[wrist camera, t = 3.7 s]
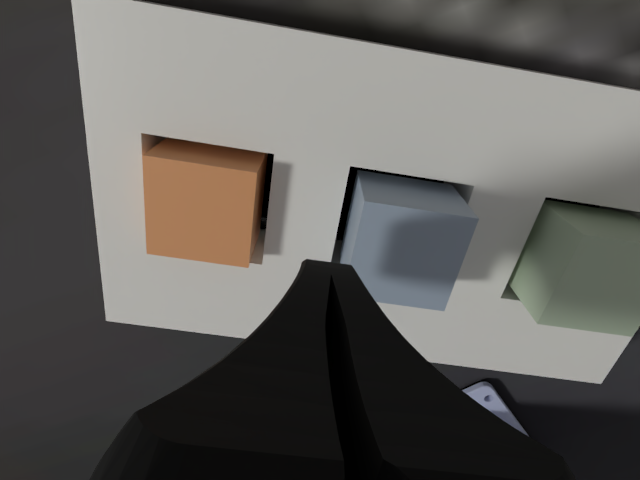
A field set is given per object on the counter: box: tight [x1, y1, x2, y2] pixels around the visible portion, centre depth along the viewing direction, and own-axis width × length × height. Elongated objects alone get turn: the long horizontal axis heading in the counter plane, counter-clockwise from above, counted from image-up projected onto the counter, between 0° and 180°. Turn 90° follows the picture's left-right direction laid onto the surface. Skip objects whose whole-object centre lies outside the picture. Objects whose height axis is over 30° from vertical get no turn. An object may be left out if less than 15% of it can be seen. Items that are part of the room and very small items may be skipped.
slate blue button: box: [340, 170, 479, 311], centre depth 15 cm, size 4×4×3 cm
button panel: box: [71, 0, 640, 384], centre depth 16 cm, size 22×12×3 cm, turn 81°
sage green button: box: [508, 200, 640, 337], centre depth 15 cm, size 4×4×3 cm
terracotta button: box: [142, 137, 268, 268], centre depth 15 cm, size 4×4×3 cm
